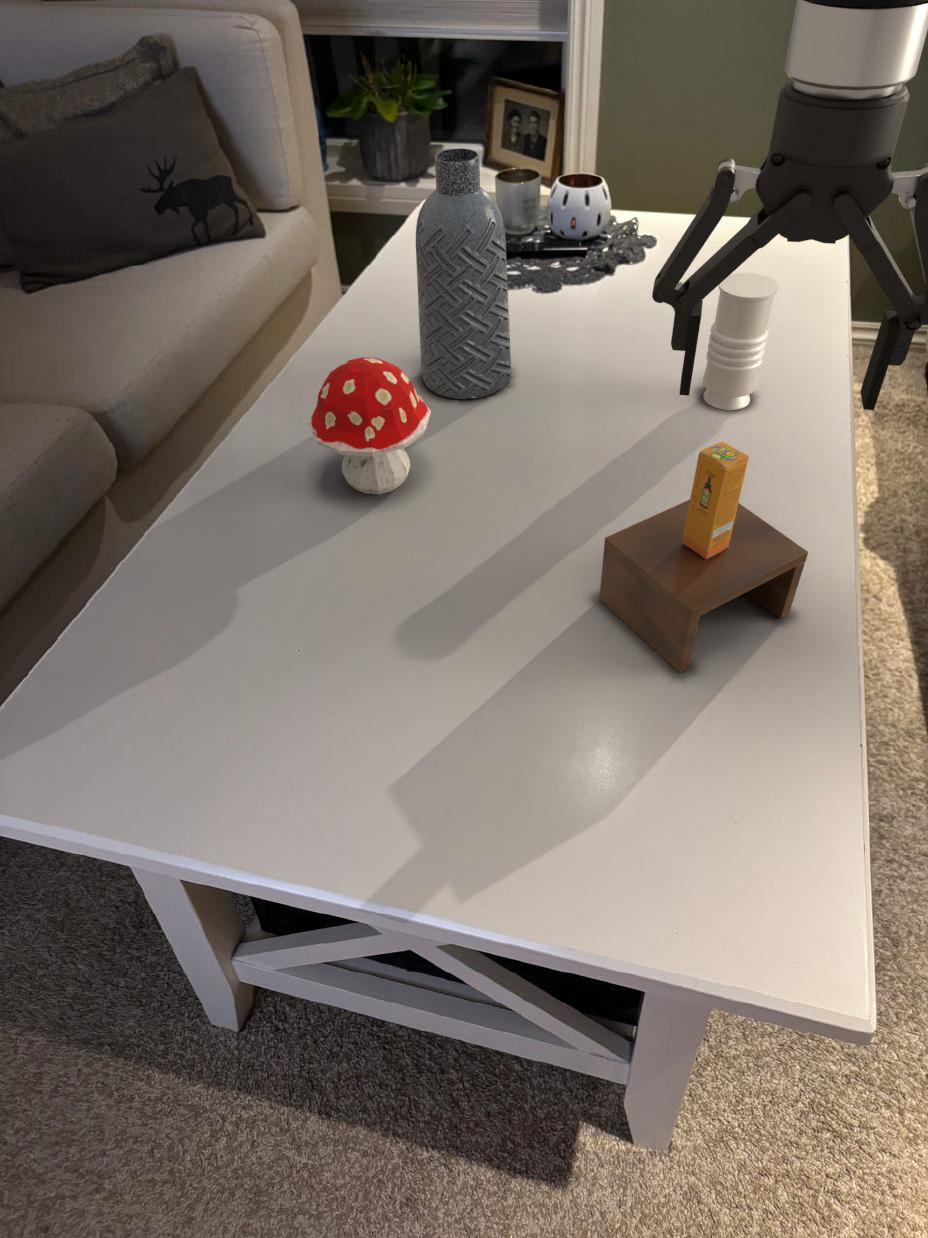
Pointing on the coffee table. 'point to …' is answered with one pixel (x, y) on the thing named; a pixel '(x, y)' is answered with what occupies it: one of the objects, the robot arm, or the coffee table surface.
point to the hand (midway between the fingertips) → (774, 394)
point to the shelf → (693, 577)
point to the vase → (462, 283)
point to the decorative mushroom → (370, 422)
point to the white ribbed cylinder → (738, 339)
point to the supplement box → (714, 499)
